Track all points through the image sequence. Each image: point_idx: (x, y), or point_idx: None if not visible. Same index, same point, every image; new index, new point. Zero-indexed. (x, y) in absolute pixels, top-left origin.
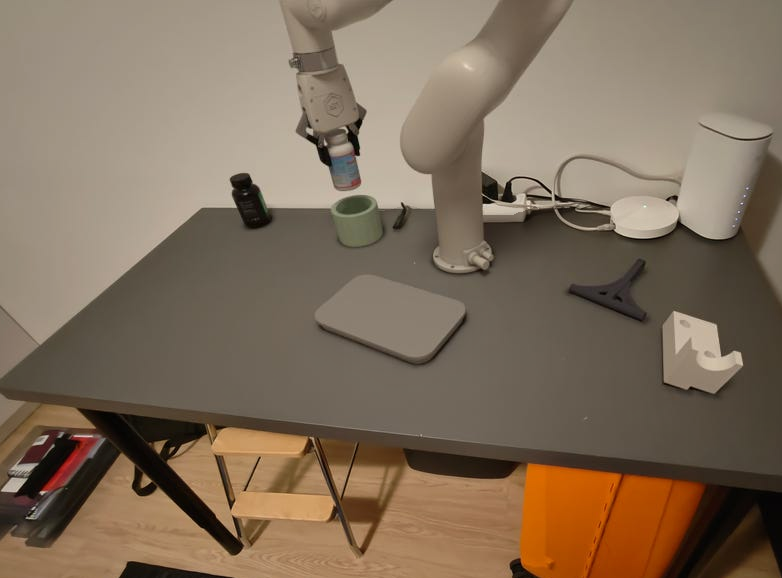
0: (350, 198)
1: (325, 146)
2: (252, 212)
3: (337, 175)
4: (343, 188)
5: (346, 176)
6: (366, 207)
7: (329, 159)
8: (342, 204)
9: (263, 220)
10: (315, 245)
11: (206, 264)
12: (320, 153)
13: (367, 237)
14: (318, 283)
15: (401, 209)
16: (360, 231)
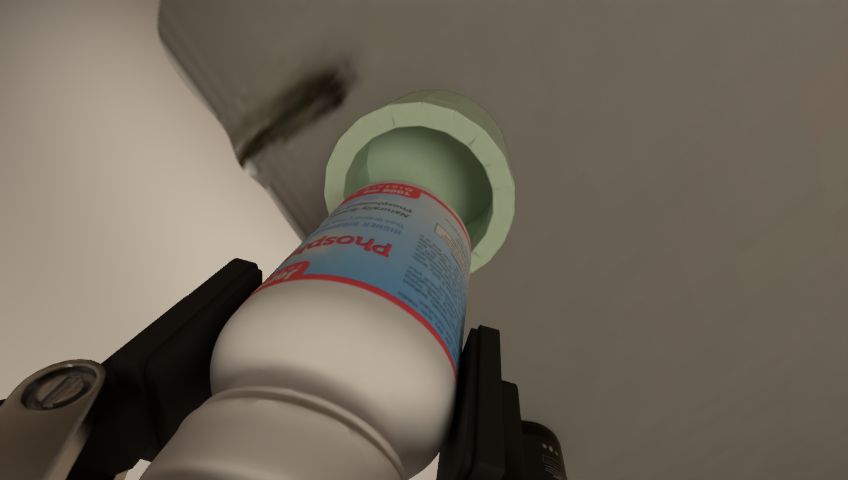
0: None
1: (477, 473)
2: (553, 468)
3: (461, 271)
4: (459, 221)
5: (427, 225)
6: None
7: (484, 360)
8: None
9: (532, 433)
10: (550, 250)
11: (747, 425)
12: (519, 451)
13: (462, 98)
14: (756, 64)
15: (253, 163)
16: (479, 113)
